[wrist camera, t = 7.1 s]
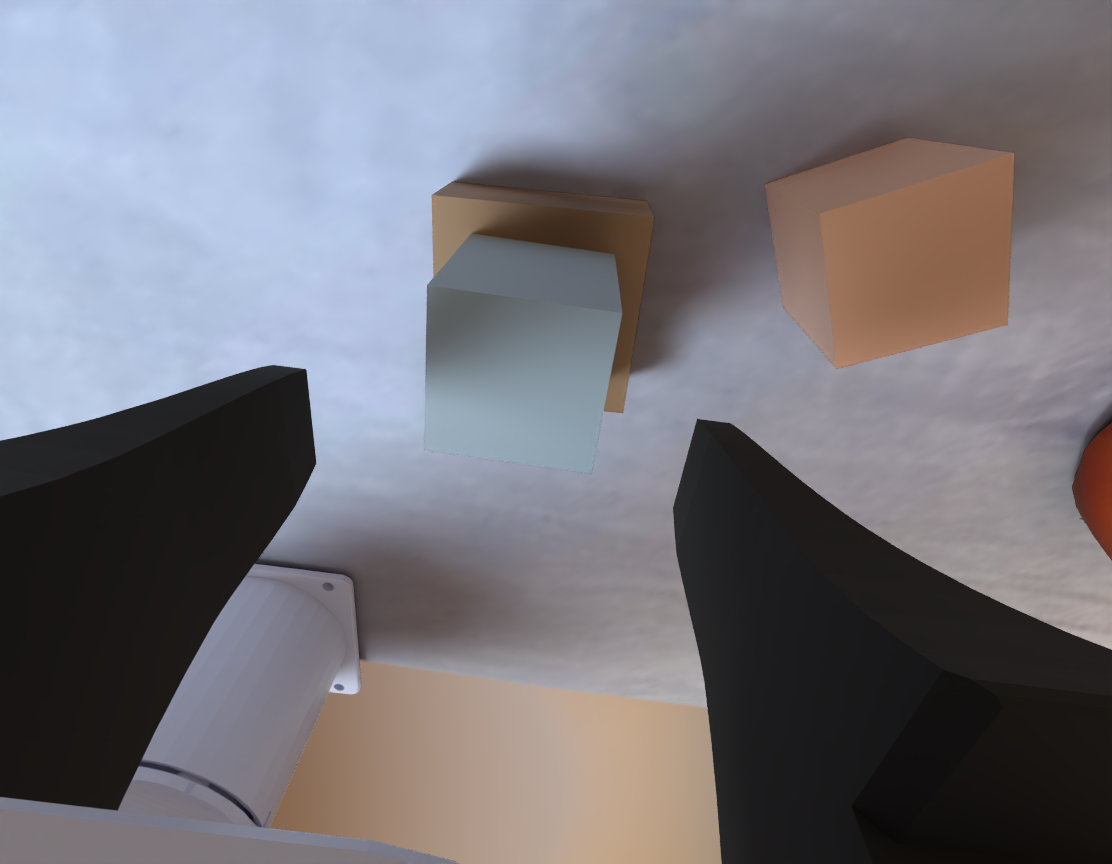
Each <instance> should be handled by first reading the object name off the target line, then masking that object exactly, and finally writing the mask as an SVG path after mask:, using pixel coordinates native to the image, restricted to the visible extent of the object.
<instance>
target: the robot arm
mask: <svg viewBox="0 0 1112 864" xmlns="http://www.w3.org/2000/svg"><path fill="white" fill-rule="evenodd" d="M315 465H316V456H315V447H314V437H313V428H312V419H311V409H310V400H309V390H308V381H307V372H306V369H300V368H292V367H284V366H276V365H271V366H265V367H260V368H256V369H253V370H249V371H245V372H242V373H239V374H236V375H232V376H229V377H226V378H223V379H220V380H217V381H214V382H211V383H208V384H205V385H202V386H199V387H196V388H193V389H190V390H187V391H184V392H181V393H178V394H175V395H172V396H169V397H166V398H163V399H159V400H156V401H153V402H149V403H146V404H143V405H140V406H136V407H133V408H130V409H126V410H123V411H120V412H116V413H113V414H110V415H106V416H103V417H100V418H96V419H92V420H89V421H85V422H81V423H77V424H73V425H69V426H65V427H61V428H57V429H52V430H48V431H43V432H39V433H35V434H30V435H26V436H21V437H17V438H12V439H7V440H2V441H0V864H458V863H457V862H455V861H453V860H449V859H445V858H441V857H437V856H433V855H429V854H425V853H421V852H417V851H413V850H409V849H405V848H401V847H397V846H393V845H389V844H385V843H381V842H377V841H373V840H364V839H355V838H348V837H338V836H330V835H321V834H313V833H305V832H296V831H288V830H279V829H270V828H269V827H270V825H271V823H272V820H273V818H274V816H275V814H276V812H277V809H278V807H279V805H280V802H281V800H282V798H283V796H284V793H285V791H286V789H287V786H288V784H289V782H290V780H291V777H292V775H293V773H294V770H295V768H296V766H297V764H298V761H299V759H300V757H301V754H302V752H303V750H304V748H305V745H306V743H307V741H308V739H309V736H310V734H311V731H312V729H313V727H314V725H315V722H316V720H317V718H318V716H319V713H320V711H321V709H322V707H323V704H324V702H325V700H326V697H327V695H328V693H329V692H336V693H344V694H355V693H357V692H358V691H359V689H360V686H361V677H360V662H359V650H358V637H357V625H356V613H355V600H354V588H353V582H352V580H351V579H350V578H349V577H347V576H345V575H341V574H333V573H325V572H317V571H309V570H300V569H292V568H284V567H276V566H268V565H260V564H255V562H256V561H257V560H258V558H259V557H260V556H261V554H262V553H263V551H264V550H265V549H266V547H267V546H268V544H269V543H270V542H271V540H272V539H273V537H274V536H275V534H276V533H277V532H278V530H279V529H280V527H281V526H282V524H283V523H284V522H285V520H286V519H287V517H288V516H289V514H290V513H291V511H292V510H293V508H294V507H295V505H296V503H297V502H298V500H299V498H300V496H301V494H302V492H303V490H304V488H305V486H306V484H307V482H308V480H309V478H310V476H311V473H312V471H313V469H314V467H315ZM673 514H674V529H675V541H676V552H677V557H678V562H679V567H680V571H681V576H682V580H683V585H684V589H685V594H686V598H687V602H688V607H689V611H690V615H691V620H692V624H693V629H694V633H695V637H696V642H697V646H698V650H699V655H700V659H701V665H702V670H703V676H704V682H705V690H706V698H707V707H708V715H709V724H710V732H711V742H712V752H713V762H714V773H715V783H716V794H717V806H718V820H719V833H720V846H721V860H722V864H1112V650H1111V649H1108V648H1106V647H1103V646H1100V645H1098V644H1095V643H1093V642H1090V641H1087V640H1085V639H1082V638H1080V637H1077V636H1075V635H1072V634H1070V633H1067V632H1065V631H1063V630H1060V629H1058V628H1056V627H1054V626H1051V625H1049V624H1047V623H1045V622H1042V621H1040V620H1038V619H1036V618H1033V617H1031V616H1029V615H1027V614H1024V613H1022V612H1020V611H1018V610H1015V609H1013V608H1011V607H1009V606H1006V605H1004V604H1002V603H1000V602H998V601H996V600H994V599H992V598H990V597H988V596H986V595H984V594H982V593H979V592H977V591H975V590H973V589H971V588H969V587H967V586H966V585H964V584H962V583H960V582H958V581H956V580H954V579H952V578H950V577H949V576H947V575H945V574H943V573H941V572H939V571H937V570H935V569H933V568H932V567H930V566H928V565H926V564H924V563H922V562H921V561H919V560H917V559H915V558H914V557H912V556H910V555H908V554H907V553H905V552H903V551H902V550H900V549H898V548H897V547H895V546H894V545H892V544H890V543H889V542H887V541H886V540H884V539H882V538H881V537H879V536H878V535H876V534H874V533H873V532H871V531H870V530H868V529H866V528H865V527H863V526H862V525H860V524H859V523H858V522H856V521H855V520H853V519H852V518H850V517H849V516H847V515H846V514H845V513H843V512H842V511H840V510H839V509H838V508H836V507H835V506H834V505H832V504H831V503H830V502H828V501H827V500H826V499H824V498H823V497H821V496H820V495H819V494H817V493H816V492H815V491H814V490H812V489H811V488H810V487H809V486H807V485H806V484H805V483H803V482H802V481H801V480H800V479H799V478H797V477H796V476H795V475H794V474H792V473H791V472H790V471H789V470H788V469H786V468H785V467H784V466H783V465H782V464H780V463H779V462H778V461H777V460H776V459H774V458H773V457H772V456H771V455H770V454H769V453H767V452H766V451H765V450H764V449H763V448H761V447H760V446H759V445H758V444H757V443H756V442H754V441H753V440H752V439H751V438H749V437H748V436H747V435H746V434H745V433H743V432H742V431H741V430H739V429H738V428H737V427H735V426H734V425H732V424H730V423H724V422H716V421H708V420H700V419H697V422H696V425H695V429H694V433H693V437H692V440H691V444H690V448H689V451H688V455H687V459H686V462H685V466H684V470H683V473H682V477H681V481H680V484H679V488H678V492H677V495H676V499H675V503H674V507H673ZM328 583H330V584H328ZM331 584H332V585H331Z"/></svg>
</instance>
